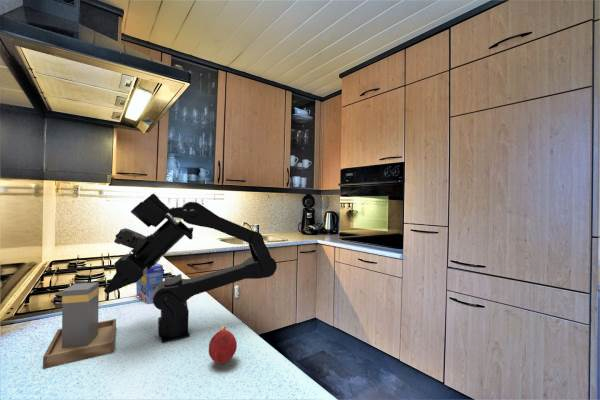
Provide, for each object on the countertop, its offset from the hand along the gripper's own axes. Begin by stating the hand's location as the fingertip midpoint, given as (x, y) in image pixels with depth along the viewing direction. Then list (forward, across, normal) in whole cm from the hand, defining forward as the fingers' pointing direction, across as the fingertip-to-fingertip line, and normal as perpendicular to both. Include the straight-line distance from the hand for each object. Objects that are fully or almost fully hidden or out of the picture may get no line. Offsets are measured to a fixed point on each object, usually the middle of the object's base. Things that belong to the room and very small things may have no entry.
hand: (113, 286), depth 68 cm
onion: (-8, +16, +28) cm, 33 cm away
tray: (+14, 0, +6) cm, 15 cm away
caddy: (+14, 0, +4) cm, 14 cm away
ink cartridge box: (+9, -30, +11) cm, 33 cm away
